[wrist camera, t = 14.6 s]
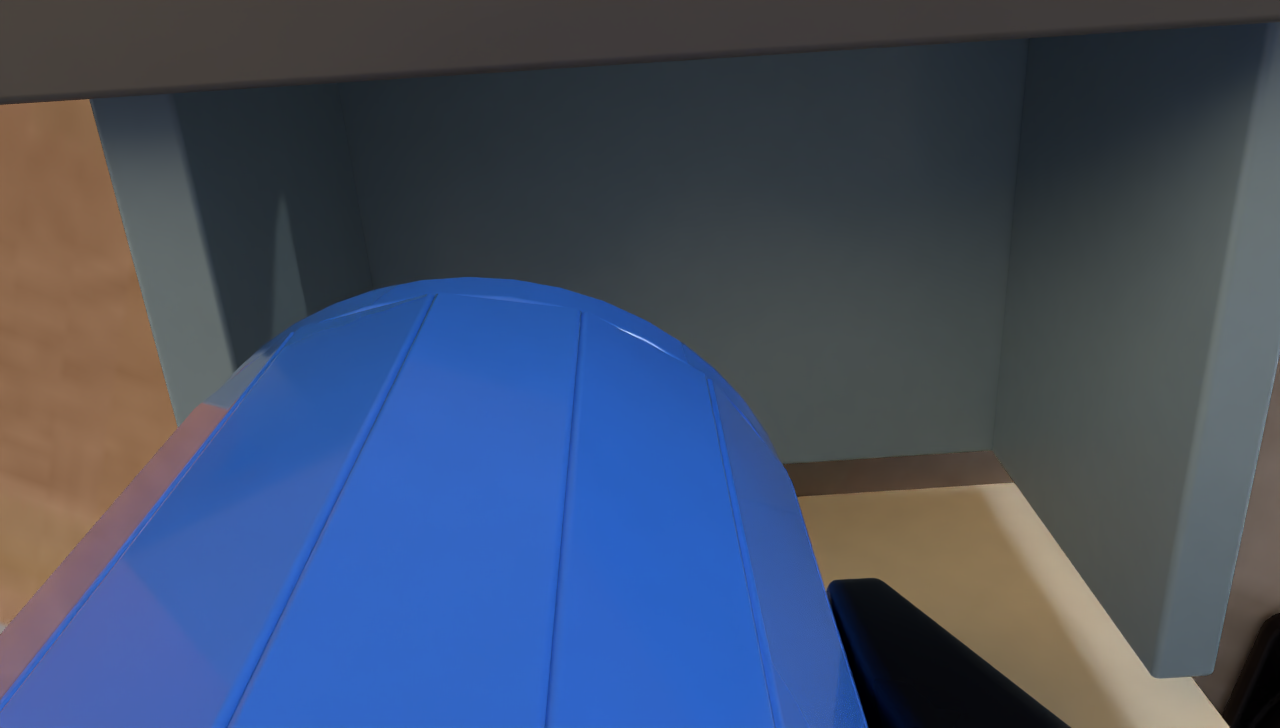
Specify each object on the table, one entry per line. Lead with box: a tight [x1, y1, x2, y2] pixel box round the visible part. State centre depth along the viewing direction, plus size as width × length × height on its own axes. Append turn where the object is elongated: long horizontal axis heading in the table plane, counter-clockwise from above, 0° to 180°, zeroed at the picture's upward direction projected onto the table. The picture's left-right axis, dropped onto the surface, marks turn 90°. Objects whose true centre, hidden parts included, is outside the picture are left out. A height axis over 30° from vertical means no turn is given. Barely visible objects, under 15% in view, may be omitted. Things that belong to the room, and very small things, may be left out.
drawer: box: [90, 22, 1280, 728], centre depth 15 cm, size 19×13×7 cm
